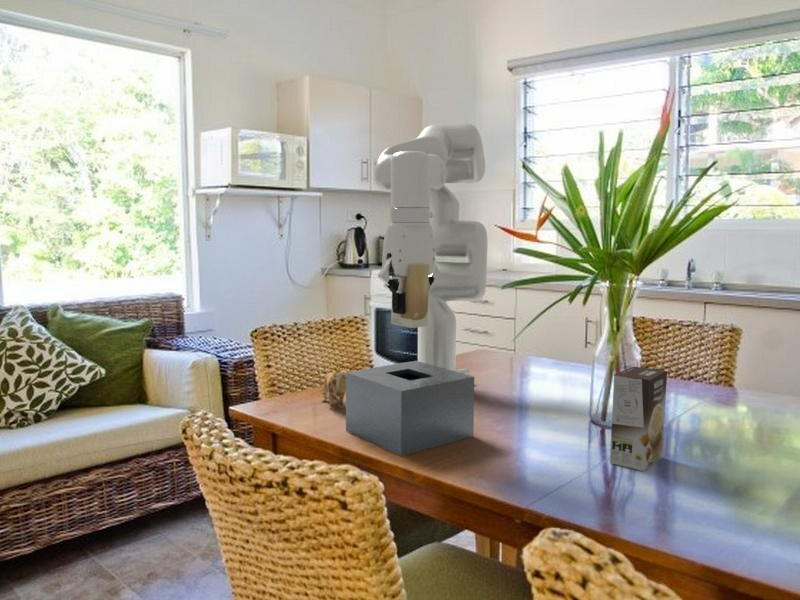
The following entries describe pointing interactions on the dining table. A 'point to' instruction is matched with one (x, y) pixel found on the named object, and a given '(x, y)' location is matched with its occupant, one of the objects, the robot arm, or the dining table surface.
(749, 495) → the dining table surface
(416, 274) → the skincare box
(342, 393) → the tan spotted animal figure
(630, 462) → the coffee box
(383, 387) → the box
